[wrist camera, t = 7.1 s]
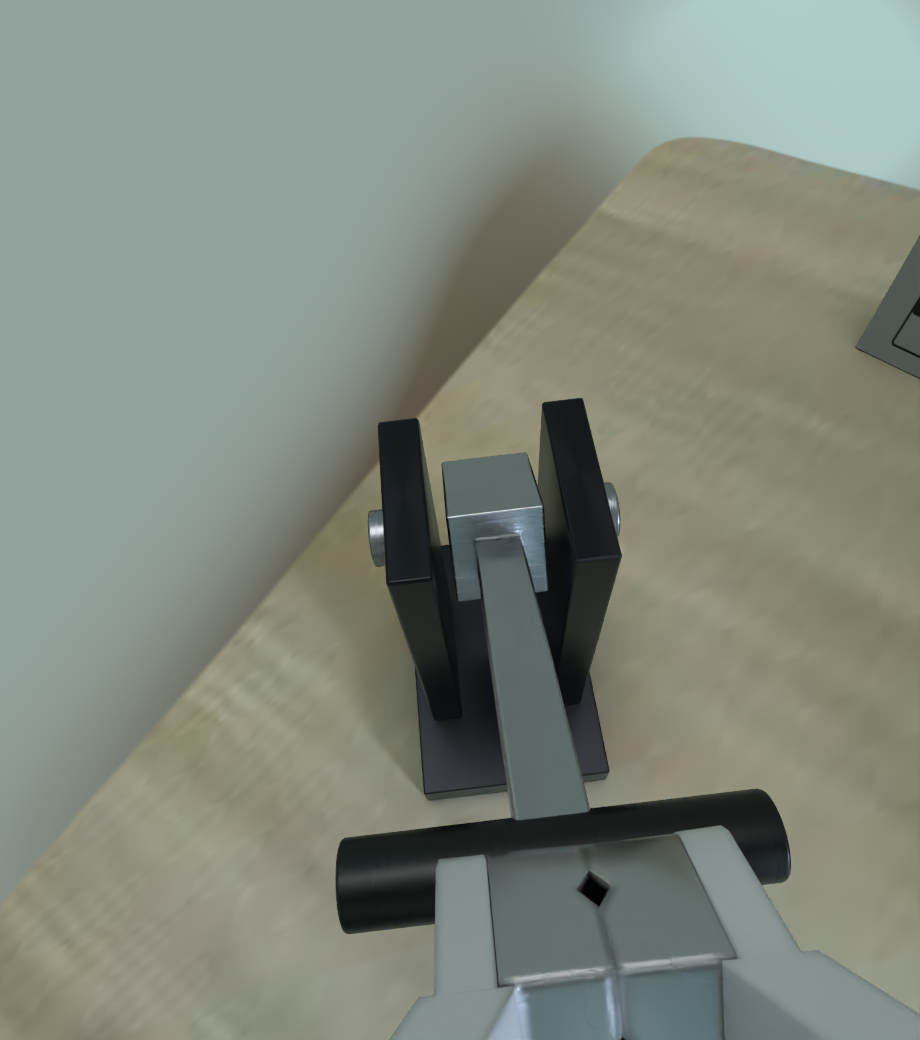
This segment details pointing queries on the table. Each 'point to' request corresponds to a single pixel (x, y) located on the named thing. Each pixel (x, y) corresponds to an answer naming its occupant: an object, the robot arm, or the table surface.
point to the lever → (524, 727)
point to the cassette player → (898, 320)
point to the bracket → (460, 625)
